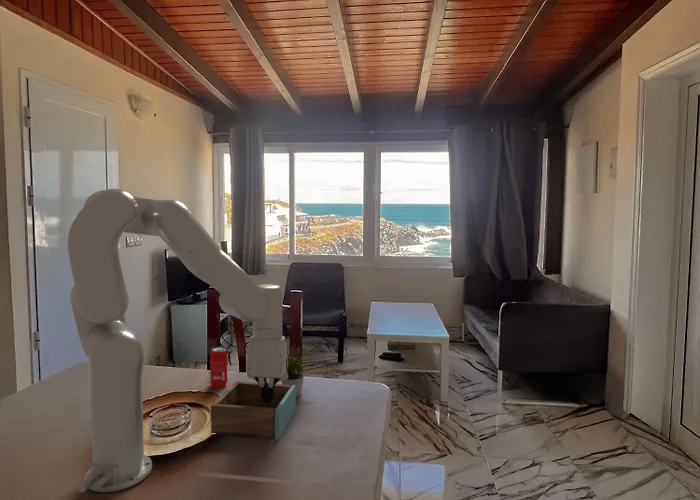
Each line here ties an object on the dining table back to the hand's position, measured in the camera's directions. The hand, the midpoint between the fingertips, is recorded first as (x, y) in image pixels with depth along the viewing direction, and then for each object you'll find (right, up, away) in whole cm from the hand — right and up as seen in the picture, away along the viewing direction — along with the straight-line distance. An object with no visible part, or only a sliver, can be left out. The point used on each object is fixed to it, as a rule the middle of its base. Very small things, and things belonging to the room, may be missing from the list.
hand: (267, 400), depth 114 cm
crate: (-4, -7, +1) cm, 8 cm away
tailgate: (+5, -6, 0) cm, 8 cm away
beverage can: (-21, -5, +26) cm, 34 cm away
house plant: (+2, -5, +19) cm, 20 cm away
